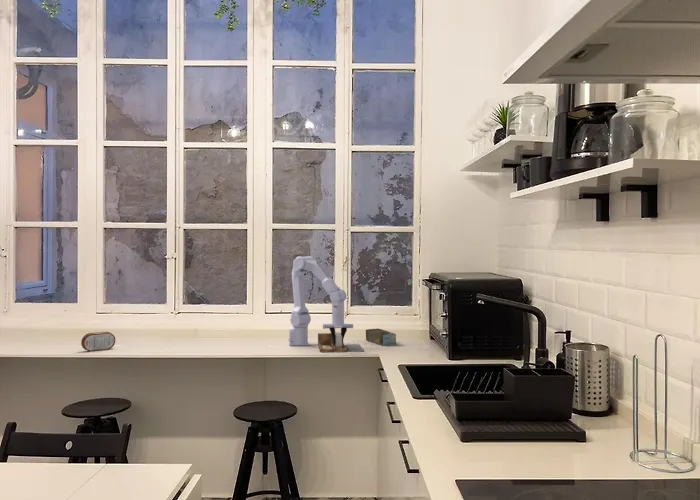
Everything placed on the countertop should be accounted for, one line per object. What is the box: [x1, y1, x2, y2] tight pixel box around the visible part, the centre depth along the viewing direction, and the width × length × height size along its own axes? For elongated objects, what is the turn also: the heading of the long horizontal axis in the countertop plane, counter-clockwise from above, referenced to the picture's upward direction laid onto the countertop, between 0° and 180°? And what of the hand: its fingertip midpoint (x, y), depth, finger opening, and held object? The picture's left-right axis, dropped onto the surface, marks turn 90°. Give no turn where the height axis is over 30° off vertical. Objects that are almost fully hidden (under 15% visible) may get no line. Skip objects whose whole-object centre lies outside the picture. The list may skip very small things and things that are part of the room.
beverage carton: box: [365, 328, 397, 347], centre depth 304 cm, size 8×19×7 cm, turn 25°
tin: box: [80, 331, 116, 352], centre depth 278 cm, size 15×3×8 cm, turn 132°
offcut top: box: [322, 345, 332, 349], centre depth 286 cm, size 4×13×1 cm, turn 6°
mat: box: [344, 343, 365, 353], centre depth 287 cm, size 7×18×1 cm, turn 6°
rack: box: [317, 332, 348, 353], centre depth 286 cm, size 12×19×6 cm, turn 6°
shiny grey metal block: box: [334, 331, 343, 349], centre depth 286 cm, size 3×11×7 cm, turn 6°
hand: (337, 343), depth 286 cm, fingers closed on shiny grey metal block, 3 cm apart
